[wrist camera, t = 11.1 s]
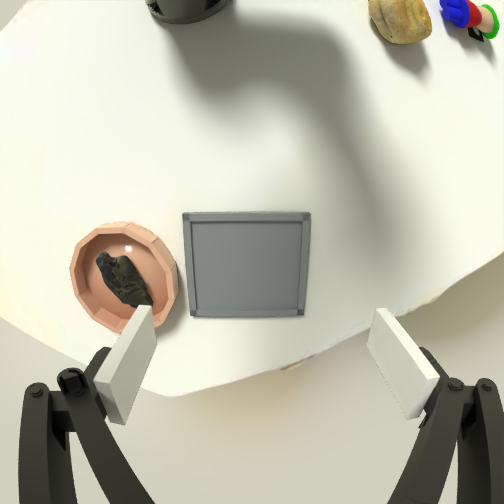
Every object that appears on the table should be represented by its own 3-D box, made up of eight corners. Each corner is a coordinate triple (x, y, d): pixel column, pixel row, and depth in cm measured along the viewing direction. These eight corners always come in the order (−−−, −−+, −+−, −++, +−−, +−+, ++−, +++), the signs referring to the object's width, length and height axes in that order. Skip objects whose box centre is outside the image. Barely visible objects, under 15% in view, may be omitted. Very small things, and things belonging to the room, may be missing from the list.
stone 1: (139, 314, 53) (130, 329, 48) (94, 259, 49) (81, 270, 44) (164, 297, 52) (157, 311, 46) (118, 239, 48) (105, 248, 43)
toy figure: (439, 31, 38) (490, 45, 35) (458, 21, 29) (512, 40, 27) (430, -2, 34) (482, 13, 32) (447, -16, 26) (502, 4, 23)
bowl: (74, 224, 47) (62, 229, 43) (173, 220, 48) (167, 225, 44) (92, 319, 53) (84, 329, 50) (183, 325, 54) (179, 337, 50)
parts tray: (183, 212, 47) (182, 214, 46) (308, 212, 48) (310, 213, 47) (191, 312, 53) (190, 315, 52) (302, 311, 53) (303, 315, 52)
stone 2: (421, 49, 38) (449, 35, 28) (377, 49, 39) (403, 30, 29) (397, -5, 34) (420, -25, 25) (353, -7, 35) (372, -32, 25)
